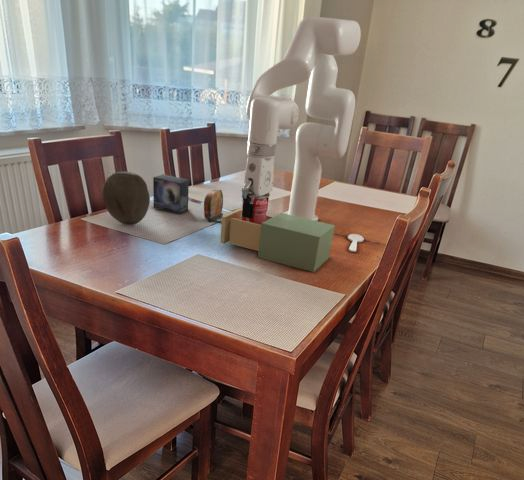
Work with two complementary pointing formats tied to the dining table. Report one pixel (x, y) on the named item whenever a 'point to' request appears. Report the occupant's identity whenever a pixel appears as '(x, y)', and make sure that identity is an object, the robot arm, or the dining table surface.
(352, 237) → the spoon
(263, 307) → the dining table surface
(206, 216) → the tin
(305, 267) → the cabinet
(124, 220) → the cantaloupe
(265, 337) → the dining table surface
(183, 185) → the small box
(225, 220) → the drawer
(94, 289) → the dining table surface
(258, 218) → the soda can
